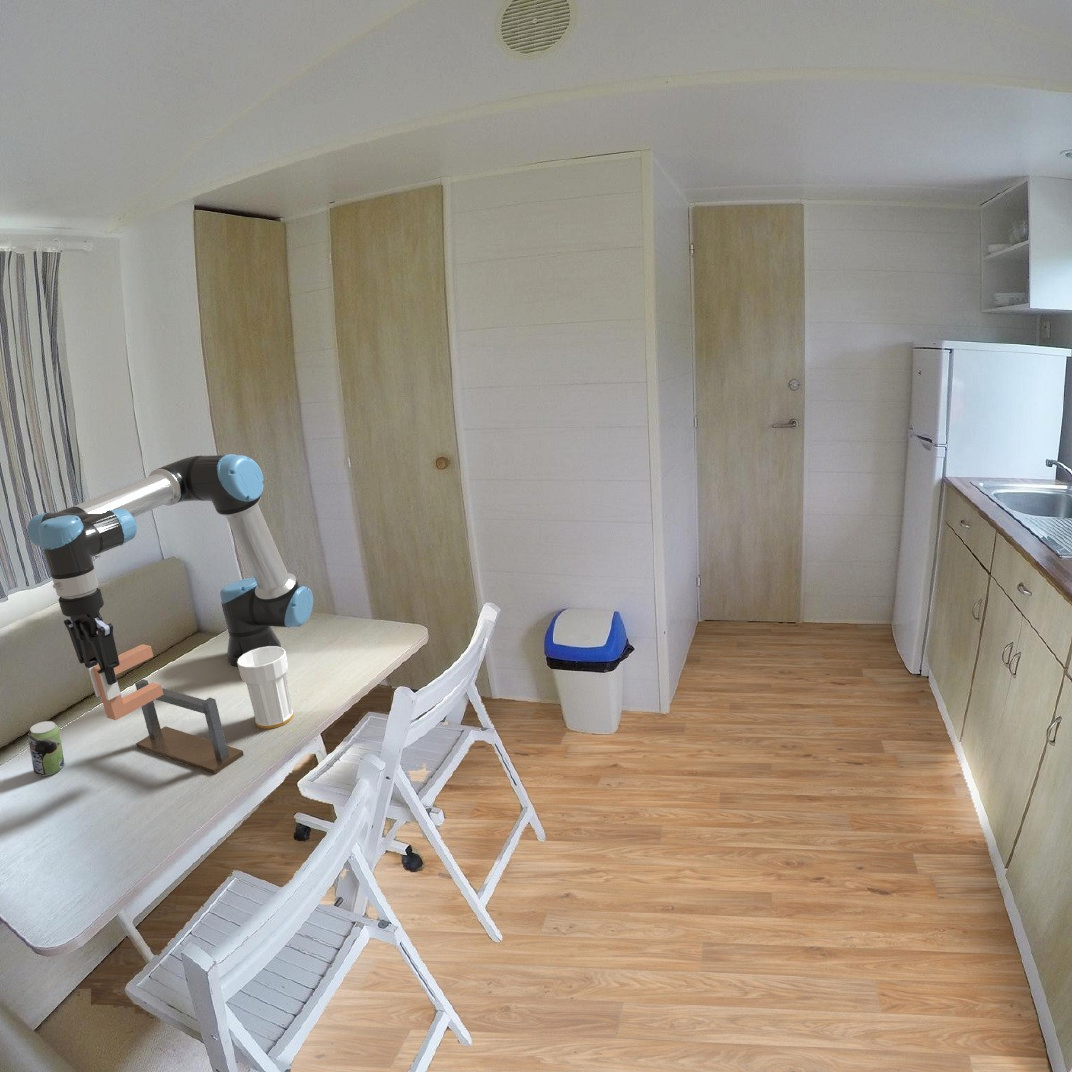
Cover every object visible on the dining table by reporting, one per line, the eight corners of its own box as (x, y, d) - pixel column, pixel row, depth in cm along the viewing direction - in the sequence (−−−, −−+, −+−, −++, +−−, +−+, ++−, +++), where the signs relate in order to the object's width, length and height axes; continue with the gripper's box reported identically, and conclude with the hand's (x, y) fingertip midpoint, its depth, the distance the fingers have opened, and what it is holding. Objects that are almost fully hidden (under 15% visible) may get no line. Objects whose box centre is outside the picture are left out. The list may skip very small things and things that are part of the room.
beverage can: (43, 765, 180) (29, 720, 177) (76, 761, 181) (62, 716, 177) (29, 781, 174) (14, 735, 171) (62, 777, 175) (48, 731, 171)
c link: (107, 717, 164) (92, 667, 160) (155, 692, 173) (142, 644, 170) (115, 720, 163) (101, 669, 159) (163, 694, 172) (150, 646, 168)
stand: (137, 747, 184) (120, 688, 179) (166, 730, 191) (151, 672, 186) (215, 774, 171) (199, 711, 166) (243, 755, 177) (229, 693, 172)
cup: (241, 728, 189) (226, 664, 184) (271, 704, 199) (258, 643, 193) (278, 734, 185) (264, 669, 179) (307, 710, 195) (295, 648, 189)
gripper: (37, 594, 156) (69, 696, 163) (84, 604, 148) (114, 711, 155) (74, 581, 162) (102, 680, 169) (120, 590, 154) (148, 693, 161)
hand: (108, 695), depth 162 cm, fingers closed on c link, 3 cm apart
